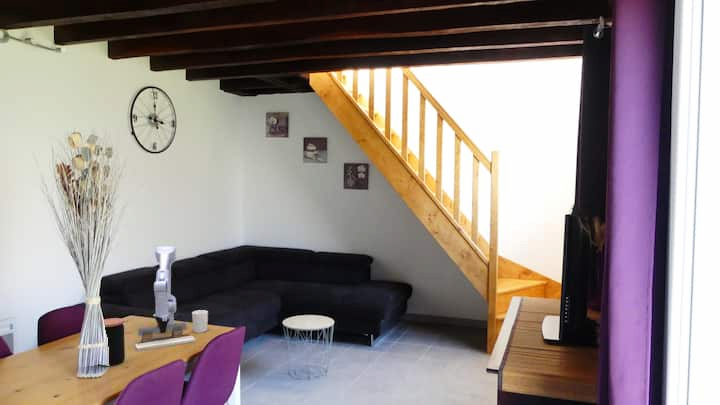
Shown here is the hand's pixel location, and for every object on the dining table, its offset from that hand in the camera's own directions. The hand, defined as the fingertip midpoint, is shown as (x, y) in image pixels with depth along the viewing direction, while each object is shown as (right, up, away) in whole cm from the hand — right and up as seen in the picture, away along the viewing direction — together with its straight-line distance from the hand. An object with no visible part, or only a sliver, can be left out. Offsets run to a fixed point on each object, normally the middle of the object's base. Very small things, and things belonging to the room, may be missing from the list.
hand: (162, 332), depth 260 cm
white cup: (+14, -4, +16) cm, 21 cm away
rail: (0, 0, 0) cm, 0 cm away
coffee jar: (-10, -6, -31) cm, 33 cm away
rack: (0, -4, 0) cm, 4 cm away
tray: (+4, -4, -7) cm, 9 cm away
